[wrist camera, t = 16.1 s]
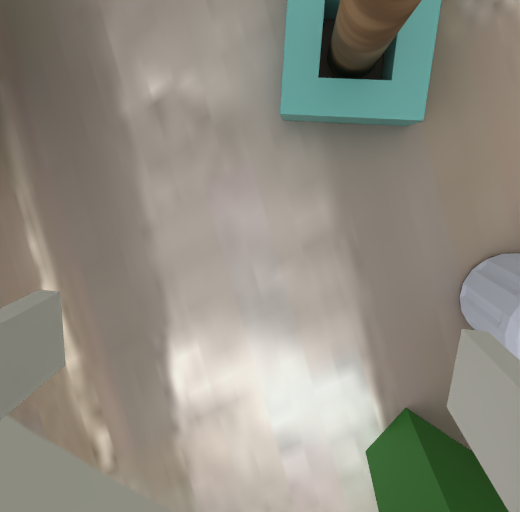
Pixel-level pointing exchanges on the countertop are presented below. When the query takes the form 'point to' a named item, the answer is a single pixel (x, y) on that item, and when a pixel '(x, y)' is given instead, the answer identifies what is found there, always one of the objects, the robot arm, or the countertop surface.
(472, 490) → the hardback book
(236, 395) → the countertop surface
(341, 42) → the dowel
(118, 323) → the countertop surface
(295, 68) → the socket
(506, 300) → the soap bottle
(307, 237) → the countertop surface
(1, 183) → the countertop surface
